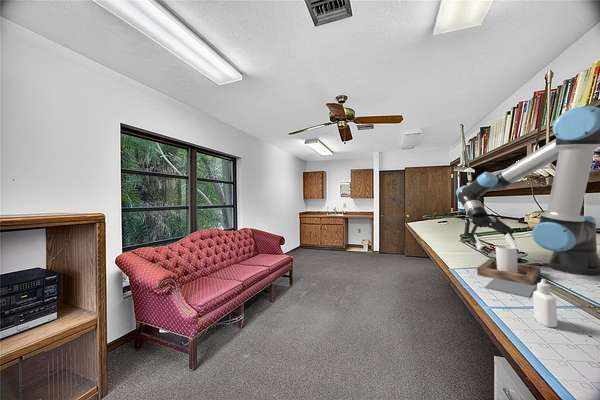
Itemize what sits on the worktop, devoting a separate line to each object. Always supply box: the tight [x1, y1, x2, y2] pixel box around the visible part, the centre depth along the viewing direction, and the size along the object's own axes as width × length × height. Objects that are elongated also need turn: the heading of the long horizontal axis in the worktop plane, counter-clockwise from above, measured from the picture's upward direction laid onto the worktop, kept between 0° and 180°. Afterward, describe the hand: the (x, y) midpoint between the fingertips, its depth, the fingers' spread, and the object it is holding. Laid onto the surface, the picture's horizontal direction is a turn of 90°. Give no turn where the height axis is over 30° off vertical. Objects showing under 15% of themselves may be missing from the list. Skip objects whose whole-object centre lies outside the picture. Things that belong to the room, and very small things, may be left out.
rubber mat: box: [484, 278, 537, 299], centre depth 86 cm, size 12×12×1 cm
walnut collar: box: [476, 258, 542, 286], centre depth 98 cm, size 17×17×3 cm
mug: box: [495, 244, 519, 274], centre depth 98 cm, size 10×7×12 cm, turn 125°
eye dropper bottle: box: [532, 278, 558, 328], centre depth 64 cm, size 4×6×12 cm
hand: (497, 248), depth 103 cm, fingers open, 13 cm apart
